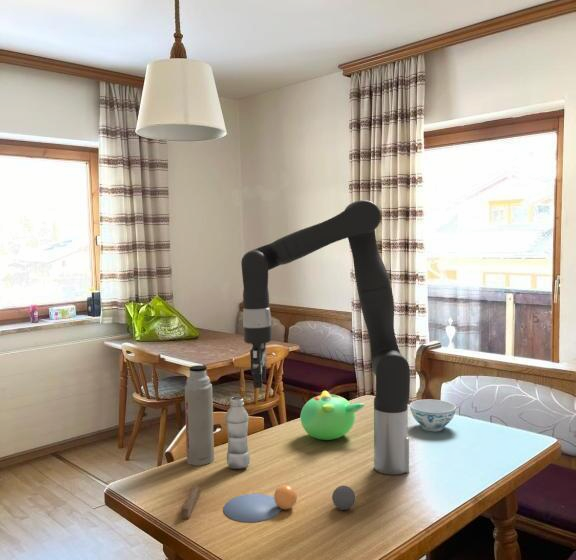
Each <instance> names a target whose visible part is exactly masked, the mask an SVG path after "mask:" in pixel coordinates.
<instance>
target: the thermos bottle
mask: <svg viewBox="0 0 576 560" xmlns="http://www.w3.org/2000/svg"><path fill="white" fill-rule="evenodd" d="M207 367H208V366H206V365H200V364H198V365H192V366H190V367H189V376H188V377H187V378H186V385H184V404H185V405H184V406H185V407H184V408H185V411H184V414H185V439H186V440H185V444H186V463H188V464H189V463H190V464H189V465H191V464H193V465H192V466H206V465H209V464H211V463H213V462H214V460H215V442H214V441H215V440H214V406H213V403H214V401H213V398H214V397H213V384H212V383H211V379H210V377H209V376H208V374H207V370H208V369H207ZM208 463H209V464H208ZM205 464H206V465H205Z"/></svg>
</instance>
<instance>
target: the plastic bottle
mask: <svg viewBox="0 0 576 560" xmlns="http://www.w3.org/2000/svg"><path fill="white" fill-rule="evenodd" d="M229 402H230V403H229V406H230V407H229V409H228V410H227V412H226V413H225V423H226V424H225V425H226V429H227V430H226V431H227V440H228V441H227V453H226V464H227V466H228V467H229V468H230V469H234V470H242V469H246V468H247V467H248V466H249V464H250V461H251V454H250V450H249V444H248V428H249V427H248V426H249V414H248V411H247V410H246V409H245V407H244V405H245V403H244V398H243V397H242V396H233V397H230V399H229Z"/></svg>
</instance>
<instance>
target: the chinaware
mask: <svg viewBox="0 0 576 560" xmlns="http://www.w3.org/2000/svg"><path fill="white" fill-rule="evenodd" d="M409 409H410V411H411V412H410V413H411V415H412V417H413V419H414V420H415V421H416V423H418V424H419V425H421V427H422V429H423V430H424V431H428V432H440V431H443V429H444V427H446V426H447V425H448V424H450V422H451V421H452V420H453V418H454V416H455V413H456V409H457V407H456V405H455V404H454V403H452V402H449V401H446V400H440V399H429V398H427V399H417V400H413V401H412V402H410V404H409Z"/></svg>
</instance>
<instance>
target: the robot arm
mask: <svg viewBox="0 0 576 560" xmlns="http://www.w3.org/2000/svg"><path fill="white" fill-rule="evenodd" d="M381 214H382V213H381V210H380V208H379V207H378V206H377V204H375V203H374V202H372V201H370V200H366V199H359V200H356V201H354V202H352V203H350V204H348V205H347V206H346V207H345V208H344V210H343V211H342V212H340V213H338V214H336V215H335V216H333V217H331V218H329V219H326V220H324V221H322V222H318V223H316V224H313V225H311V226H308V227H304V228H302V229H299V230H297V231H294V232H291V233H290V234H287V235H285V236H282V237H280V238H277V239H276V240H275V241H273V242H271V243H267V244H265V245H262V246H260V247H257V248H255V249H252V250H249V251H247V252H246V253H245V254H244V255H243V256H242V257H241V262H240V263H241V273H242V276H241V277H242V285H243V292H242V303H243V304H242V305H243V306H242V307H243V308H242V309H243V311H242V312H243V313H242V324H243V327H242V328H243V341H244V343H245V344H251V346H252V347H251V349H250V350H249V351H250V352H249V354H250V373H251V374H252V378H253V383H252V385H253V388H254V389H261V388H262V387H263V381H264V380H266V378H267V376H266V365H267V361H268V358H267V356H268V355H267V351H268V350H267V343H270V342H272V341H273V337H272V336H273V335H272V314H271V310H270V309H271V308H270V293H269V288H268V287H269V271H270V270H273V269H274V268H276V267H278V266H283V265H287V264H290V263H293V262H294V261H297V260H299V259H302V258H304V257H305V256H308V255H310V254H312V253H314V252H316V251H318V250H321V249H323V248H325V247H326V246H329V245H331V244H334V243H336V242H339V241H341V240H345V239H348V242H349V243H348V244H349V246H350V250H351V254H352V259H353V270H354V276H355V281H356V283H355V284H356V289H357V294H358V299H359V304H360V308H361V313H362V316H363V320H364V322H365V323H364V324H365V326H366V329H367V333H368V334H367V335H368V339H369V346H370V358H371V370H372V372H373V374H374V375H375V397H374V399H373V463H374V470H376V472H378V473H381V474H384V475H390V476H391V475H392V476H393V475H401V474H405V473H410V439H409V436H408V434H409V432H408V427H409V426H408V425H409V424H408V421H409V420H408V419H409V417H408V414H409V413H408V407H409V404H408V403H409V400H410V390H411V371H410V370H411V369H410V365H409V361H407V359H406V358H405V357H404V356H403V354H401V351H400V349H399V345H398V341H397V338H396V334H395V325H394V324H395V300H394V294H393V289H392V284H391V280H390V277H389V273H388V271H387V268H386V266H385V264H384V261H383V259H382V256H381V255H380V251H379V249H378V244H377V243H378V242H377V238H376V237H377V236H376V229H377V228H378V227H379V224H380V223H381V218H382V216H381Z"/></svg>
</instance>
